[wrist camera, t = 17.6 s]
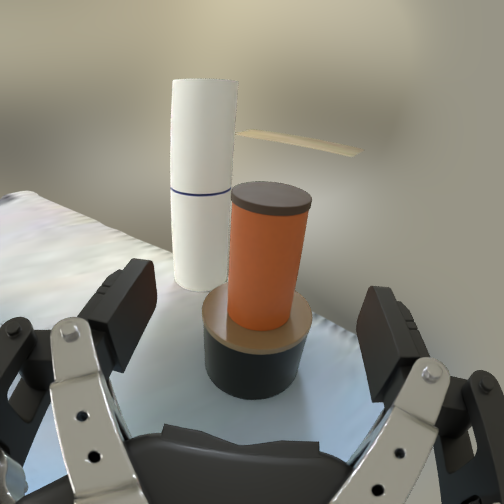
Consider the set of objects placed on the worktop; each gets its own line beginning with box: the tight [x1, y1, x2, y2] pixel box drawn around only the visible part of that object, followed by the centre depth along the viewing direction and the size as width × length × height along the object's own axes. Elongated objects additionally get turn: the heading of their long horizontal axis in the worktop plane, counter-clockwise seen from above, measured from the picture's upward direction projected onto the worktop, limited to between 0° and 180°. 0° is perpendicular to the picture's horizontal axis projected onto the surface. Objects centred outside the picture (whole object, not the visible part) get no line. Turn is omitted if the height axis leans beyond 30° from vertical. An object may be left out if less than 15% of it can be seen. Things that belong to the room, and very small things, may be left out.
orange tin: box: [227, 181, 312, 331], centre depth 22 cm, size 5×5×10 cm
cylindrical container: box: [170, 79, 238, 292], centre depth 35 cm, size 7×7×25 cm
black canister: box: [202, 282, 312, 400], centre depth 27 cm, size 9×9×7 cm
